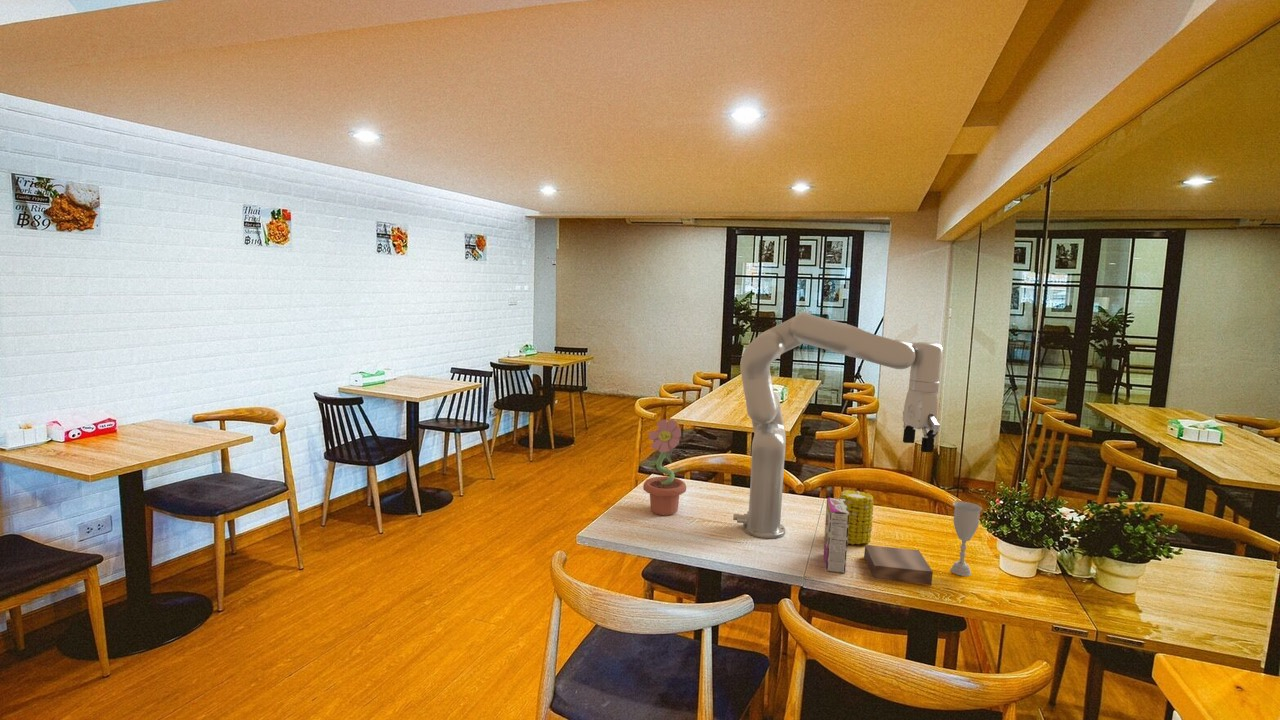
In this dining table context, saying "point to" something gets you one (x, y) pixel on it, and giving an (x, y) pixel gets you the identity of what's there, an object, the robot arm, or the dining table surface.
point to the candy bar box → (836, 535)
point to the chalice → (965, 531)
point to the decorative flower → (664, 471)
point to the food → (858, 516)
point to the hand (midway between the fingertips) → (917, 447)
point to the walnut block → (897, 564)
